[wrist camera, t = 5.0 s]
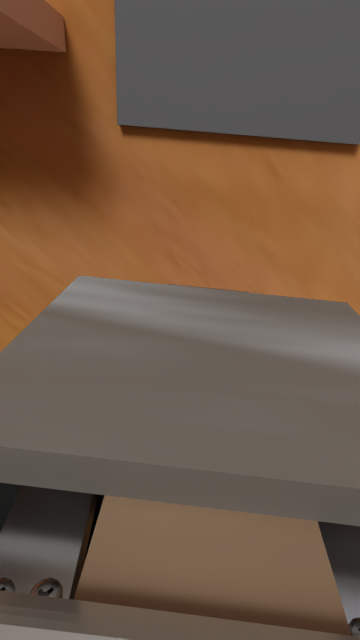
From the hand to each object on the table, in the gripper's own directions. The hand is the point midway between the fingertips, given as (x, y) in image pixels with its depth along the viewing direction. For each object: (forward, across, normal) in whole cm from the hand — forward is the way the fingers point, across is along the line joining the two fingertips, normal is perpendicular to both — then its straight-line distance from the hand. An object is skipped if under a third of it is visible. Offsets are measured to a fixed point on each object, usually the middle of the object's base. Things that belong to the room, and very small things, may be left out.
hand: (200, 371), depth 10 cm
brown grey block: (+2, 0, 0) cm, 2 cm away
